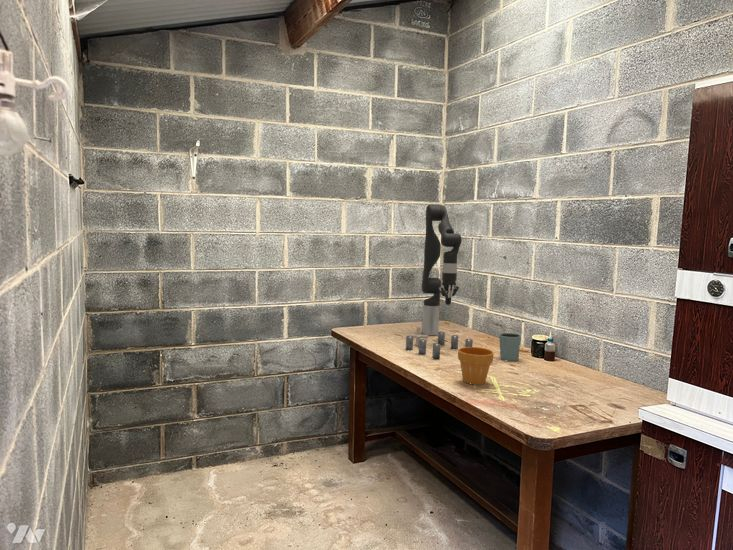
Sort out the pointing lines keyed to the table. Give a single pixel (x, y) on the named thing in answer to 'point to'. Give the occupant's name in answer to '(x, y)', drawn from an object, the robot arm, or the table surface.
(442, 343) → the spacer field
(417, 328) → the pipe connector
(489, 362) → the flower pot
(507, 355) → the grey-blue tapered bin
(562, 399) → the table surface
